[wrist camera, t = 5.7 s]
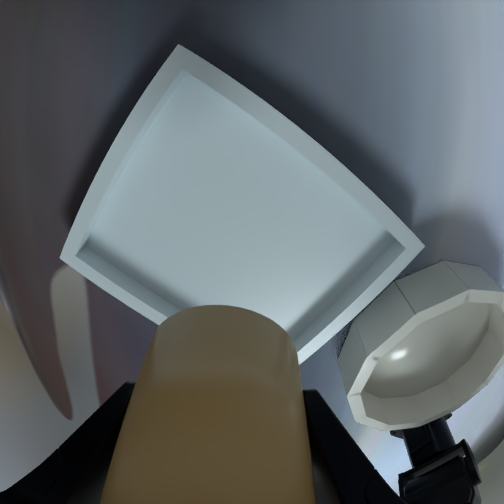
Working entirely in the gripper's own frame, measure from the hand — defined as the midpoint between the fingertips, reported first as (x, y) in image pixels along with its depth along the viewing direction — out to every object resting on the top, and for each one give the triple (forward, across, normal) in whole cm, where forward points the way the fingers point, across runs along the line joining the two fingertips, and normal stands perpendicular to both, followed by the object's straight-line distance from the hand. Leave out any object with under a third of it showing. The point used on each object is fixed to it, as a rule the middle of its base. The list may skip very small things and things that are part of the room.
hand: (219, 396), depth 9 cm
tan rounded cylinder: (+1, 0, 0) cm, 1 cm away
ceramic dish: (+12, -16, +10) cm, 23 cm away
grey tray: (+12, 0, 0) cm, 12 cm away
